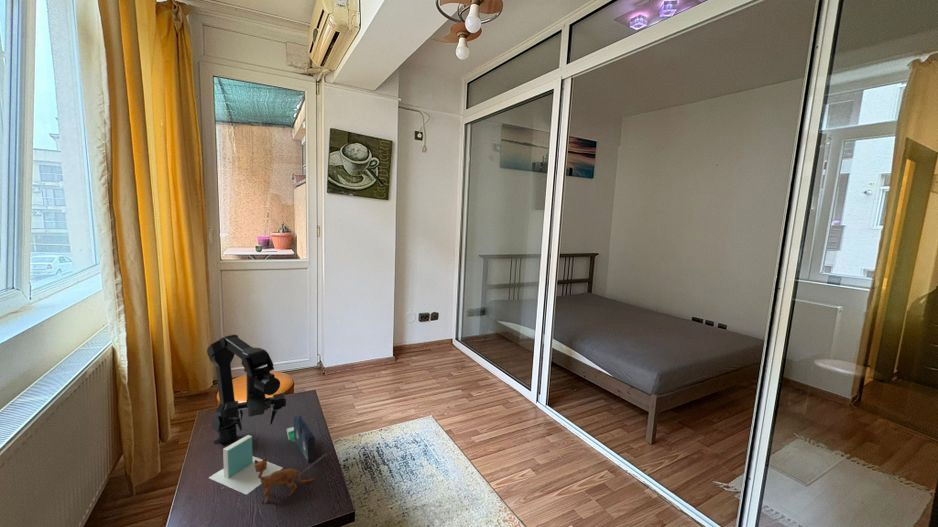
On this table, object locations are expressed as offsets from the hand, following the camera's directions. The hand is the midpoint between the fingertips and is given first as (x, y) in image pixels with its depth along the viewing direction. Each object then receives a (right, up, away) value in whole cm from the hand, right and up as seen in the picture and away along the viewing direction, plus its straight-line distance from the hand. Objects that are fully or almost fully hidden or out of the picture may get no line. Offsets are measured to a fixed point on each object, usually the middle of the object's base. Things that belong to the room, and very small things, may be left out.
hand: (256, 426), depth 130 cm
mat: (0, -14, -5) cm, 15 cm away
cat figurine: (+17, -16, -12) cm, 26 cm away
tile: (-4, -13, -4) cm, 14 cm away
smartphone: (+7, -12, +18) cm, 23 cm away
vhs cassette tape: (+13, -13, +9) cm, 21 cm away
